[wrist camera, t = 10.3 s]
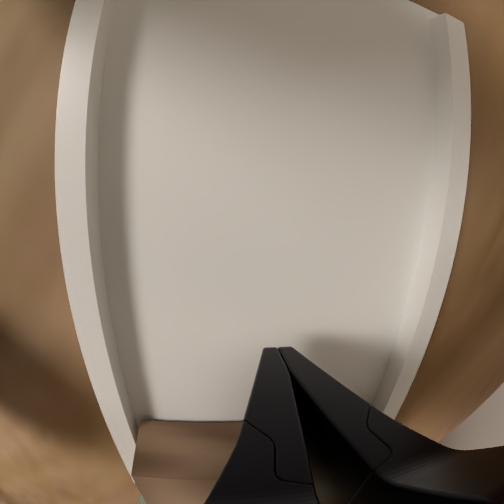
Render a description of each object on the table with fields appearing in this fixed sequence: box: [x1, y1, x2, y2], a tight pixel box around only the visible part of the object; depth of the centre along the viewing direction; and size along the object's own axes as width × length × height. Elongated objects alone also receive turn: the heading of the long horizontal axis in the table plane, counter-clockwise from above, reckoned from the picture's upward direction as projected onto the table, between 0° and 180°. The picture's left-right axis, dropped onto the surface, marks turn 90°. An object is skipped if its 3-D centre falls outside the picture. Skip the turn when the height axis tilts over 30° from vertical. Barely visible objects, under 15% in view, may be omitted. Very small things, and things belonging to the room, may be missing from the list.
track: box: [55, 0, 471, 504], centre depth 9 cm, size 13×24×4 cm, turn 177°
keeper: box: [131, 420, 242, 504], centre depth 11 cm, size 10×4×3 cm, turn 87°
